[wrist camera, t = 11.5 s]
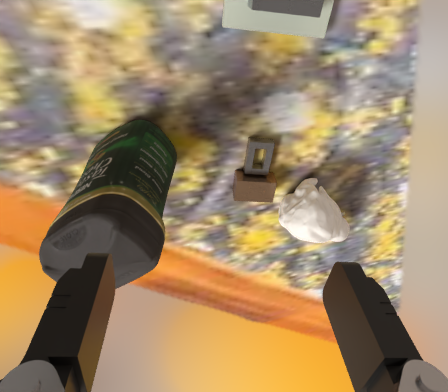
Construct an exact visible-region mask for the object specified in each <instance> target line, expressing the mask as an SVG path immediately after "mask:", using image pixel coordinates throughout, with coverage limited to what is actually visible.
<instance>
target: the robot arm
mask: <svg viewBox="0 0 448 392" xmlns="http://www.w3.org/2000/svg"><path fill="white" fill-rule="evenodd" d="M114 295H115V276H114V268H113V259H112V254H111V253H88V254H87V255H86V257H85V260H84V262H83V265H82V268H70V269H69V270H68V271H67V272H66V273H65V274H64V275H63V276H62V277H61V278H60V279H59V280H58V281H57V284H56V286H55V288H54V290H53V293H52V297H51V298H50V300H49V302H48V304H47V306H46V307H47V308H46V310H45V311H44V313H43V315H42V318H41V320H40V323H39V325H38V327H37V329H36V331H35V334H34V336H33V338H32V341H31V343H30V345H29V348H28V350H27V352H26V354H25V356H24V358H23V360H22V361H21V363H20V364H19V365H18V366H17V367H16V368H14V369H13V370H12V371H10V372H9V373H8V374H7V375H6V376H5V377H4V378H3V379H2V380H0V392H91V388H92V385H93V381H94V377H95V373H96V369H97V365H98V361H99V357H100V353H101V349H102V345H103V341H104V337H105V333H106V329H107V325H108V320H109V317H110V313H111V309H112V305H113V301H114ZM323 302H324V306H325V309H326V312H327V314H328V317H329V320H330V323H331V326H332V329H333V331H334V334H335V337H336V340H337V343H338V345H339V348H340V351H341V354H342V357H343V359H344V362H345V365H346V368H347V371H348V373H349V376H350V379H351V382H352V385H353V387H354V390H355V392H448V379H447V378H446V377H445V375H444V374H443V373H442V372H441V371H440V370H438V369H437V368H436V367H434V366H433V365H431V364H429V363H427V362H425V361H423V359H422V358H421V356H420V354H419V352H418V351H417V349H416V347H415V345H414V343H413V342H412V340H411V338H410V336H409V334H408V332H407V331H406V329H405V327H404V325H403V324H402V322H401V320H400V318H399V316H397V313H396V311H395V309H394V307H393V305H391V302H390V300H389V298H388V296H387V294H386V293H385V291H384V289H383V288H382V287H381V286H380V285H379V284H378V283H377V282H376V281H375V280H374V279H373V278H372V277H366V275H365V273H364V271H363V269H362V267H361V266H360V264H358V263H356V262H336V263H335V264H334V266H333V268H332V270H331V273H330V275H329V277H328V279H327V282H326V284H325V286H324V289H323Z"/></svg>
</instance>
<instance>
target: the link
mask: <svg viewBox="0 0 448 392" xmlns="http://www.w3.org/2000/svg"><path fill="white" fill-rule="evenodd" d="M323 3H324V0H248V5H247V6H248V7H249V8H250V9H251V10H257V11H266V12H274V13H283V14H291V15H300V16H309V17H317V18H320V15H321V11H322V7H323Z"/></svg>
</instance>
